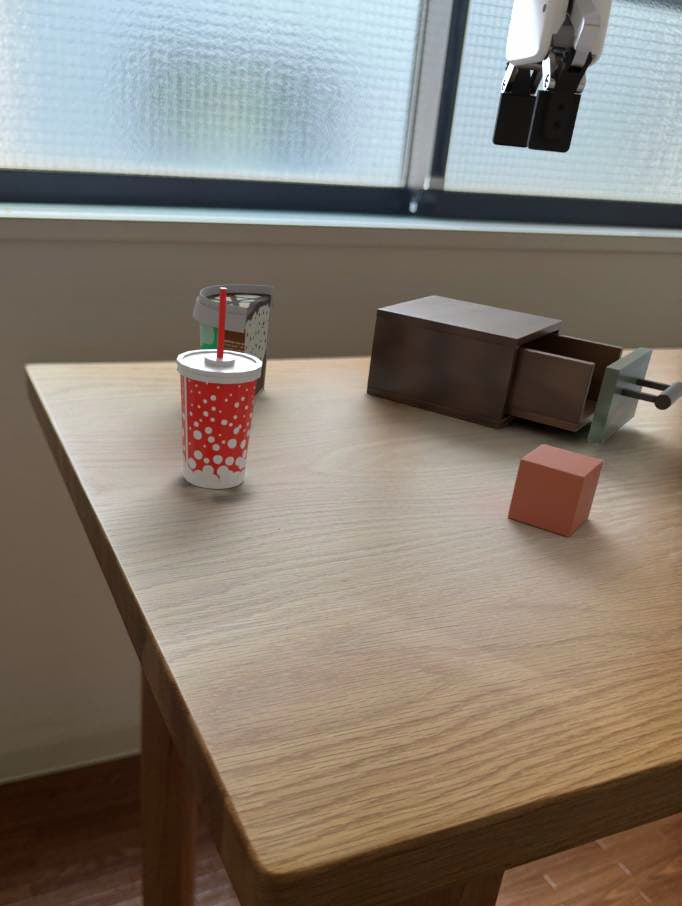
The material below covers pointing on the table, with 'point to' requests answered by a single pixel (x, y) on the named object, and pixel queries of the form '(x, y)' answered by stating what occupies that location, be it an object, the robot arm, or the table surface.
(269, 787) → the table surface
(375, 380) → the cabinet
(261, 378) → the food container
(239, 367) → the beverage cup
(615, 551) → the table surface
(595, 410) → the drawer
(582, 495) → the block
